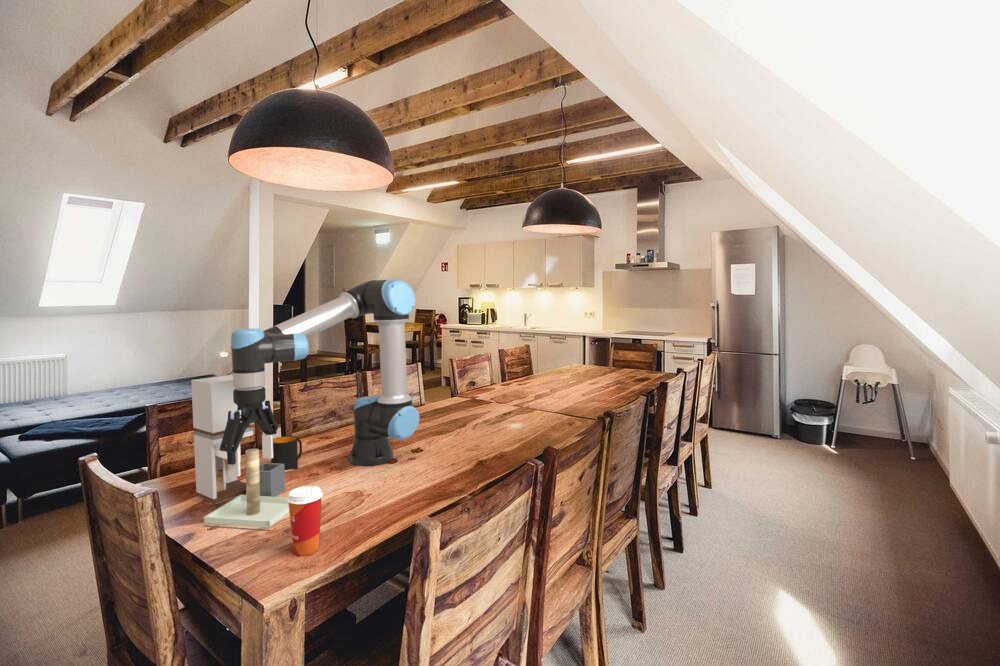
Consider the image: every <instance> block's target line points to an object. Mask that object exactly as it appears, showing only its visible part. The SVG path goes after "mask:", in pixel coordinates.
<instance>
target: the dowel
mask: <svg viewBox="0 0 1000 666" xmlns="http://www.w3.org/2000/svg"><path fill="white" fill-rule="evenodd" d="M244 455H245V483H246V494H245V495H246V501H247V515H256V514H259V513H260V475H259V465H260V448H249V449H247V450H245V453H244Z"/></svg>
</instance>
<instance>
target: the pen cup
mask: <svg viewBox="0 0 1000 666" xmlns="http://www.w3.org/2000/svg"><path fill="white" fill-rule="evenodd" d="M285 471H286V470H285V469H284V464H278V463H271V462H262V463H259V475H260V496H267V497H278V496H279V495H280V494H282V493H283V492H284V491H286V479H285V478H286V475H285Z"/></svg>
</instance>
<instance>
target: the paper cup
mask: <svg viewBox="0 0 1000 666" xmlns="http://www.w3.org/2000/svg"><path fill="white" fill-rule="evenodd" d="M323 495H324V494H323V491H322V490H321V488H320V487H319V486H316V485H314V486H312V485H307V486H305V485H304V486H299V487H297V488H293V489H292V490H290V491H289V493H288V496H287V497H286V498H287V501H288V502H289V521H290V532H291V544H292V550H293V554H294V555H295V556H297V557H306V556H311V555H313V554H315V553H316V552H317V551H319V549H320V541H321V540H320V539H321V519H322V518H321V517H322V515H321V514H322V513H321V512H322V511H321V510H322V497H323Z"/></svg>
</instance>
